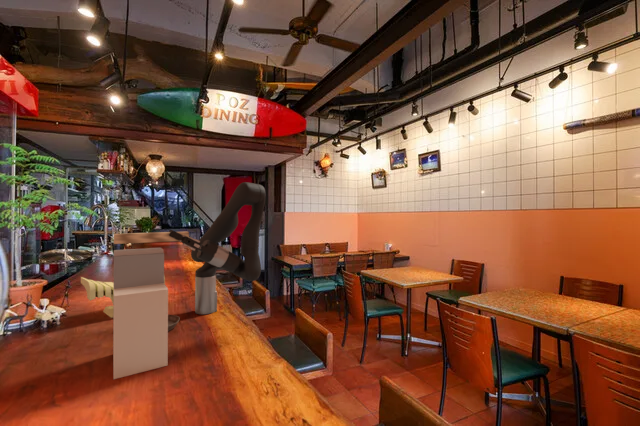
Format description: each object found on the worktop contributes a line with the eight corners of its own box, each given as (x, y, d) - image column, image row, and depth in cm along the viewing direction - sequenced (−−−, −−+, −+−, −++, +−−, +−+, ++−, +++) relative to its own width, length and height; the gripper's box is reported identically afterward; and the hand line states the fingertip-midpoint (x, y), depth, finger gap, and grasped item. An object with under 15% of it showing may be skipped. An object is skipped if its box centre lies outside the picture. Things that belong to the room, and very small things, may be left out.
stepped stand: (160, 343, 109) (160, 247, 109) (167, 365, 94) (168, 253, 94) (113, 354, 101) (113, 249, 101) (113, 379, 86) (114, 257, 86)
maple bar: (187, 239, 109) (187, 231, 109) (188, 240, 107) (188, 232, 107) (113, 243, 97) (113, 233, 97) (113, 244, 94) (113, 234, 94)
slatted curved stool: (89, 325, 126) (90, 282, 125) (80, 316, 136) (80, 276, 136) (164, 307, 148) (164, 271, 148) (151, 301, 159) (152, 267, 159)
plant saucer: (120, 332, 119) (120, 325, 119) (160, 318, 135) (160, 311, 135) (150, 341, 112) (150, 333, 111) (189, 325, 128) (189, 318, 127)
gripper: (213, 243, 120) (172, 222, 111) (223, 246, 109) (179, 223, 100) (203, 260, 118) (160, 240, 109) (213, 265, 107) (166, 244, 98)
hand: (169, 232), depth 105 cm, fingers closed on maple bar, 3 cm apart
